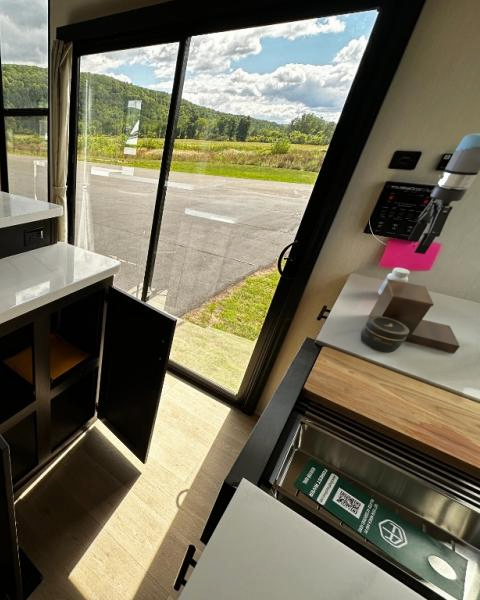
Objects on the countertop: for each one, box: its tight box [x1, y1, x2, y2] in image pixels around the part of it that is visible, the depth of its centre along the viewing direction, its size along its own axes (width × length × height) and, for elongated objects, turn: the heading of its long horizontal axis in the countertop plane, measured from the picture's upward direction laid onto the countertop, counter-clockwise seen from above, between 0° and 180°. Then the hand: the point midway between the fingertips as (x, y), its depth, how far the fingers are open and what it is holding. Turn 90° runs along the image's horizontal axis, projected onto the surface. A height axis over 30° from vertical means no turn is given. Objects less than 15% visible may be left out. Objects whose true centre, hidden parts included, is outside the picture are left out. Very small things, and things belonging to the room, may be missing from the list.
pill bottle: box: [378, 267, 411, 296], centre depth 123 cm, size 6×6×11 cm
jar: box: [359, 316, 409, 353], centre depth 101 cm, size 10×10×8 cm
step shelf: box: [368, 279, 461, 354], centre depth 103 cm, size 20×12×15 cm, turn 56°
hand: (415, 246), depth 116 cm, fingers open, 13 cm apart
